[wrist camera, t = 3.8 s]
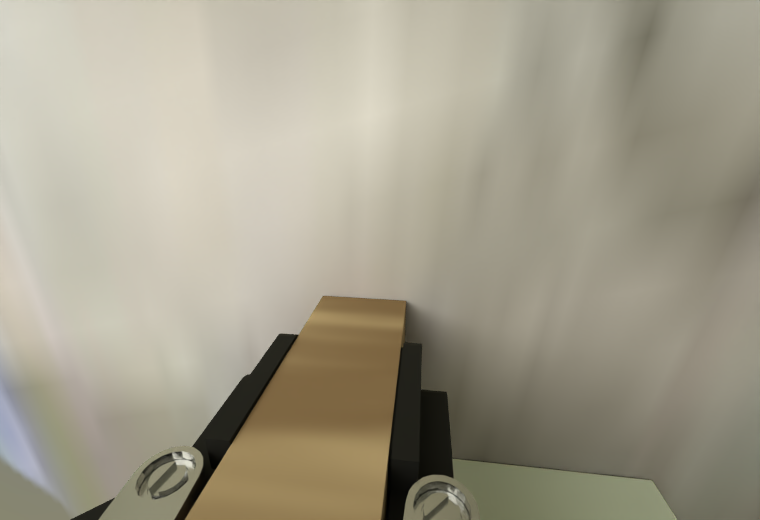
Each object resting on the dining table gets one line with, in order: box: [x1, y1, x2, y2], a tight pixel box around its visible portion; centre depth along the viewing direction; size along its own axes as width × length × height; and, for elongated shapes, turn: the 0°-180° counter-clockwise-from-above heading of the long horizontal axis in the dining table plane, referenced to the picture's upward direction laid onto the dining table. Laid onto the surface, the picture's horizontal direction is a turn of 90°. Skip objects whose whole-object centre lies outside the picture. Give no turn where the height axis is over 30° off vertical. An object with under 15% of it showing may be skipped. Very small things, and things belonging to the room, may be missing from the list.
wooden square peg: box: [185, 296, 406, 520], centre depth 7 cm, size 3×3×12 cm
